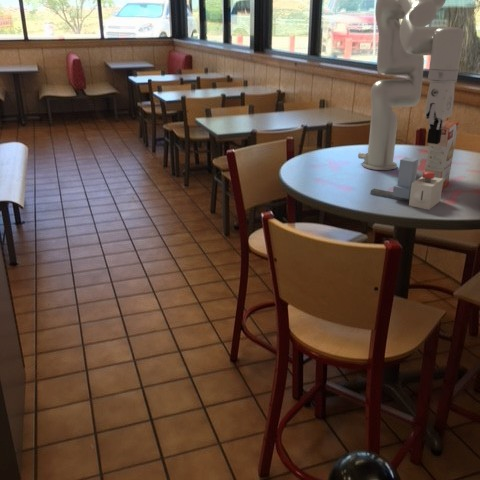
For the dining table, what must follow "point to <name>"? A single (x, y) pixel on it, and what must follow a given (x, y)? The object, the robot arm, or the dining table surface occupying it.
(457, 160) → the dining table surface
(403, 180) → the carriage
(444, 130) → the cracker box
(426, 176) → the button
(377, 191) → the rail
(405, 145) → the dining table surface
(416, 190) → the white button housing
